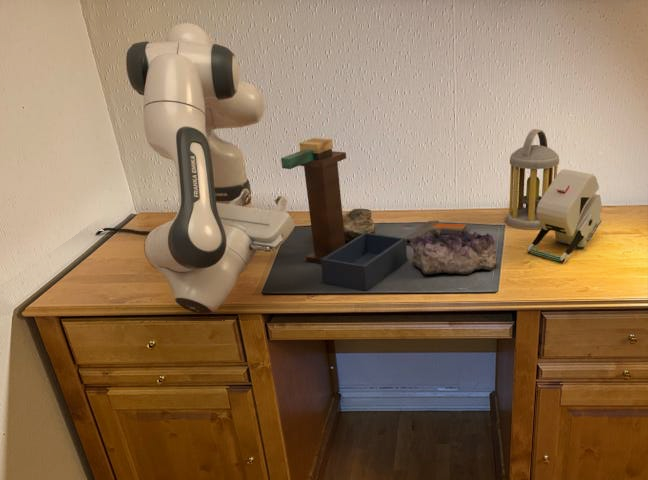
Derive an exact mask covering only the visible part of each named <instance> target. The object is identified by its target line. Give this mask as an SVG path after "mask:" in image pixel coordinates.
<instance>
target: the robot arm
mask: <svg viewBox="0 0 648 480" xmlns="http://www.w3.org/2000/svg"><path fill="white" fill-rule="evenodd" d="M125 71H126V72H125V73H126V76H127V78H128V82H129V84H130V86H131V88H132V90H134V91H135V92H136V93H137V94H139V95H141V96H143V128H144V129H143V130H144V133H145V134H144V135H145V139H146V142H147V144H148V145H149V147H150V148H151V149H152V150H153V151H154V152H155V153H156V154H158V155H159V156H161V157H162V158H165V159H167V160H171V161H172V162H173V164H174V166H175V170H176V180H177V181H176V182H177V191H178V210H177V213H176V215H175V216H174V217H173V219H171V220H169V221H167V222H165V223H163V224H161V225H159V226H157V227H155V228H153V229H151V230H136V229H131V228H116V227H103V228H104V229H103V228H102V229H103V230H104V231H99V230H97V231H96V233H95V234H94V235H95V236H99V235H100V234H101V233H104V232H109V231H110V232H124V233H125V232H126V233H133V234H139V235H147V236H146V237H145V240H144V244H143V249H144V255H145V258H146V259H147V261H148V262H149V264H150V265H151V266H152V267H153V268H154V269H156V270H157V271H158V273H160V275H161V276H162V277H163V278H164V280H165V281H166V283H167V284H168V286H169V287H170V289H171V291H172V295H173V299H174V301H175V303H176V304H178V305H179V306H180V307H182V309H185V310H187V311H189V312H192V313H195V314H199V315H208V314H211V313H215V312H216V311H217V310H218V309H219V308H220V307H221V306H222V305H223V304H224V302H225V301H226V300H227V298H228V297H229V295H230V294H231V293H232V291H233V290H234V288H235V286H236V283H237V280H238V278H239V276H240V275H241V274H243V272H245V271H246V269H247V267H248V266H249V264H250V262H251V261H252V259H253V258H254V257H255V254H256V253H257V251H260V252H261V251H262V252H264V253H270V252H271V251H274V250H277V249H279V247H280V246H281V245H283V244H284V243H285V241H286V240H287V238H288V237H289V236H290V235H291V234H292V232H293V231H294V229H295V222H294V220H293V218H292V217H291V215H290V214H289V212H287V211H286V210H285V207H286V205H287V204H288V200H287V199H286V197H285V196H277V197H276V199H275V200H274V203H275V204H276V207H274V209H265V208H257V207H255V206H254V203H253V200H252V190H251V183H250V180H249V179H248V176H247V171H246V164H245V163H246V162H245V157H244V153H243V151H242V150H241V149H240V148H239V147H238V146H237V145H235V144H234V143H231V142H229V141H227V140H224V139H222V138H220V137H219V136H218V135H217V134H216V132H215V130H219V129H220V130H222V129H236V128H237V129H239V128H245V127H248V126H253V125H257V124H259V123H260V122H261V121H262V119H263V117H264V114H265V107H266V106H265V99H264V97H263V93H262V92H261V91H260V89H259V88H258V87H257V86H256V85H255V84H254V83H251V82H246V81H243V80H241V69H240V66H239V63H238V60H237V58H236V56H235V53H233V52H232V50H230V48H228V47H226V46H223V45H221V44H217V43H214V41H213V40H212V38H211V37H210V35H208V33H207V32H206V31H205V30H204V29H203V28H202V27H201V26H199V25H197V24H195V23H191V22H181V23H178V24H176V25H173V27H171V29H170V30H169V31H168V33H167V35H166V38H165V41H156V42H155V41H154V42H150V41H148V40H147V41H146V40H145V41H138V42H135V43H133V44H131V46H129V48H128V49H127V52H126V57H125Z"/></svg>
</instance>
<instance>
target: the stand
mask: <svg viewBox="0 0 648 480" xmlns="http://www.w3.org/2000/svg"><path fill="white" fill-rule="evenodd" d="M346 159H347V152H345V151H335V150H332V155H330V156H328V157H325V158H323V159H320V160H312V161H310V162H307V163H305V164H302V165H300V166H299V167H303V170H304V171H303V172H304V176H305V186H306V194H307V203H308V212H309V220H310V229H311V236H312V244H313V252H311V253H310V254H307V255H306V256H305V261H306V262H311V263H316V264H321V259H322V258H324V257H325V256H327V255H329V254H330V253H332V252H334V251H335V250H337V249H339V248H340V247H342V246H344V245H345V244H346V240H345V236H344V226H343V215H344V214H343V206H342V194H341V185H340V174H339V165H338V163H339V162H341V161H343V160H346Z"/></svg>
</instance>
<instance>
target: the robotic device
mask: <svg viewBox="0 0 648 480" xmlns="http://www.w3.org/2000/svg"><path fill="white" fill-rule="evenodd" d="M599 187H600V186H599V183H598V179H597V177H596V175H595V174H593V173H588V172H583V171H576V170H572V169H565V168H564V169H560V171H559V172H557V176H556V177H555V179H554V178H553V181H552V183H551V185H550V186H549V188H548V189H547V191H546V192H545V194H544V195H543V197H542V196H541V197H542V198H541V200H540V201H539V203H538V205H537V210H536V213H537V217H538V219H539V222H540V224H541V226H542V229H539V232H538V233H537V235H536V236H535V238H534V240H533V241H532V242H531V243H530V245H529V246H528V247H527V250H526V251H527V254H530V255H531V254H532V255H535V256H538V257H542V258H545V259H549V260H553V261H555V262H560V263H561V264H565V263H566V262H567V260H568V259H569V258H570V257H571V255H572V253H573V251H574V250H576V248H577V249H579V250H580V249H581V250H584V249H585V247H587V245H588V243H589V241H590V240H591V238H592V237H593V235H594V233H596V230H597V229H598V227H599V226H600V225H601V223H602V219H601V213H602V212H603V211H602V210H603V205H602V199H601V195H600V194H596V193H597V192H598V190H599ZM550 231H553V232H554V241H555V242H556V243H558V244H561V245H566V246H568V247H567V248H566V250H565V251H564V253H562V255H561V256H559V255H555V254H551V253H548V252H545V251H541V250H537V248H538V246H539V244H540V243H541V242H542V240H543V239H544V238H545V237H546V236H547V234H548V233H549V232H550Z"/></svg>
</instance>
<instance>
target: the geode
mask: <svg viewBox="0 0 648 480" xmlns="http://www.w3.org/2000/svg"><path fill="white" fill-rule="evenodd" d="M410 247H411V248H412V250H413V253H412V260H411V264H412V265H414V266H415V267H417V268H418V269H420V271H421V273H422V274H424V275H434V274H442V273H445V274H450V275H451V274H454V275H455V274H457V275H469V274H471V273H473V272H474V271H479V270H486V271H493V270H494V269H496V266H497V260H496V254H497V250H496V246H495V239H494V237H493V235H491V234H490V233H488V232H487V233H486V234H483V235H482V234H480V233H478V232H476V231H474V232H473V234H472V233H470V232H467V230H466V231H462V233H461V235H459V234H458V232H456V233H453V234H451V235H449V234H435V235H430V234H426V235H424V236H423V238H421V237H415V238H412V240H411V245H410Z"/></svg>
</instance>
